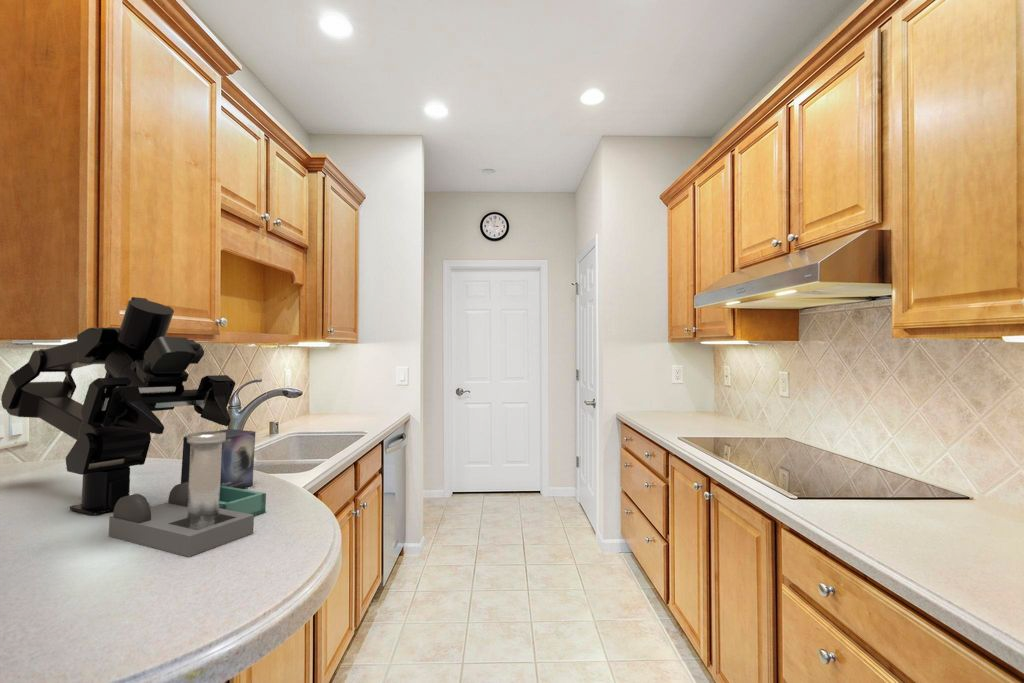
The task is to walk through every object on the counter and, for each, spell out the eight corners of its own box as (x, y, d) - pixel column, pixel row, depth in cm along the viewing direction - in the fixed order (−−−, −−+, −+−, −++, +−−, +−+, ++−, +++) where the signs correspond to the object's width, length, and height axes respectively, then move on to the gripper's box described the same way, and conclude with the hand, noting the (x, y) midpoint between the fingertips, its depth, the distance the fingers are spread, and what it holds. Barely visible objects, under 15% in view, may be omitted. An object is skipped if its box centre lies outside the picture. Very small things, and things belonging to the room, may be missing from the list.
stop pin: (174, 542, 64) (179, 434, 64) (206, 531, 68) (211, 430, 68) (197, 548, 62) (202, 437, 63) (228, 536, 66) (233, 433, 67)
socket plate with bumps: (108, 536, 66) (110, 493, 66) (176, 516, 74) (178, 479, 74) (189, 557, 59) (191, 510, 60) (253, 533, 68) (254, 492, 68)
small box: (210, 501, 82) (212, 438, 82) (177, 498, 83) (180, 436, 83) (255, 485, 92) (257, 430, 92) (225, 483, 93) (227, 428, 94)
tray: (179, 515, 74) (180, 495, 74) (220, 503, 80) (221, 485, 81) (225, 525, 70) (226, 504, 71) (265, 512, 77) (266, 493, 77)
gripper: (81, 322, 65) (140, 377, 59) (217, 330, 82) (274, 374, 75) (58, 395, 67) (113, 457, 60) (197, 389, 83) (250, 436, 77)
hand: (197, 426), depth 68 cm, fingers open, 9 cm apart
